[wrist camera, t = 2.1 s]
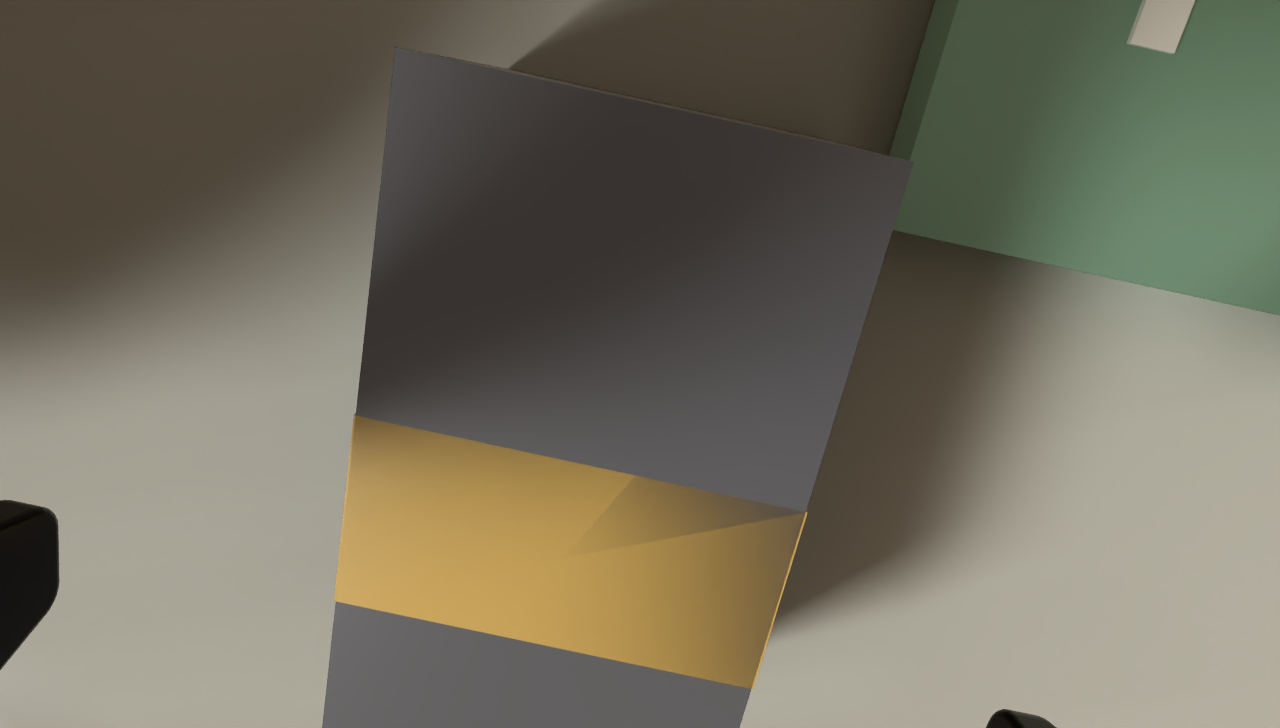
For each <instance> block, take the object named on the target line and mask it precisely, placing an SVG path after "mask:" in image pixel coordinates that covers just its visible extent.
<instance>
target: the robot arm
mask: <svg viewBox="0 0 1280 728" xmlns="http://www.w3.org/2000/svg"><path fill="white" fill-rule="evenodd" d="M58 587H59V541H58V520H57V518H56V516H55V514H54V513H53V512H52V511H51V510H49V509H48V508H45V507H40V506H36V505H31V504H26V503H22V502H17V501H12V500H1V501H0V670H1V669H2V667H3V666H4V665H5V664H6V663H7V661H8V660H9V659H10V658H11V656H12V655H13V654H14V653H15V652H16V650H17V649H18V648H19V647H20V645H21V644H22V643H23V642H24V641H25V639H26V638H27V637H28V636H29V634H30V633H31V632H32V631H33V630H34V628H35V627H36V626H37V625H38V623H39V622H40V621H41V620H42V619H43V617H44V616H45V615H46V614H47V612H48V611H49V609H50V608H51V606H52V604H53V602H54V600H55V598H56V595H57V591H58ZM986 728H1056V727H1055V726H1054V725H1052V724H1051V723H1050V722H1049V721H1047V720H1046V719H1044V718H1042V717H1040V716H1036V715H1031V714H1027V713H1022V712H1017V711H1012V710H1007V709H1002V710H999V711H997V712H995V713H994V714H993V715H992V717H991V718H990V720H989V722H988V724H987V727H986Z"/></svg>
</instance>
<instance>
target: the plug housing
mask: <svg viewBox="0 0 1280 728" xmlns="http://www.w3.org/2000/svg"><path fill="white" fill-rule="evenodd" d="M913 163H914V162H912V161H908V160H904V159H900V158H896V157H892V156H888V155H884V154H880V153H876V152H872V151H869V150H865V149H861V148H857V147H853V146H849V145H845V144H841V143H837V142H833V141H829V140H825V139H821V138H816V137H812V136H807V135H802V134H798V133H793V132H789V131H784V130H780V129H775V128H771V127H766V126H762V125H757V124H753V123H748V122H744V121H739V120H735V119H730V118H726V117H721V116H717V115H712V114H708V113H703V112H699V111H694V110H690V109H685V108H681V107H676V106H672V105H667V104H663V103H658V102H654V101H649V100H645V99H640V98H636V97H631V96H627V95H622V94H618V93H613V92H609V91H604V90H600V89H595V88H591V87H586V86H581V85H577V84H572V83H568V82H563V81H559V80H554V79H550V78H545V77H541V76H536V75H532V74H527V73H523V72H518V71H514V70H509V69H505V68H500V67H494V66H489V65H484V64H479V63H474V62H469V61H464V60H459V59H454V58H449V57H443V56H438V55H433V54H428V53H423V52H418V51H413V50H408V49H403V48H398V47H395V55H394V64H393V74H392V83H391V92H390V102H389V111H388V120H387V130H386V139H385V148H384V157H383V167H382V176H381V185H380V195H379V204H378V213H377V223H376V232H375V241H374V251H373V260H372V269H371V278H370V288H369V297H368V306H367V316H366V325H365V334H364V344H363V353H362V362H361V372H360V381H359V390H358V400H357V409H356V414H355V415H354V419H353V429H352V438H351V448H350V457H349V466H348V476H347V485H346V494H345V504H344V513H343V523H342V532H341V541H340V551H339V560H338V570H337V579H336V588H335V598H334V601H336V604H335V614H334V623H333V632H332V642H331V651H330V660H329V669H328V679H327V688H326V697H325V707H324V716H323V725H322V728H739V727H740V724H741V721H742V717H743V714H744V711H745V708H746V704H747V701H748V698H749V695H750V692H751V689H753V687H754V684H755V681H756V678H757V675H758V671H759V668H760V665H761V662H762V658H763V655H764V652H765V649H766V645H767V642H768V639H769V636H770V633H771V629H772V626H773V623H774V620H775V616H776V613H777V610H778V607H779V603H780V600H781V597H782V594H783V591H784V587H785V584H786V581H787V578H788V574H789V571H790V568H791V565H792V561H793V558H794V555H795V552H796V549H797V545H798V542H799V539H800V536H801V532H802V529H803V526H804V523H805V519H806V516H807V513H808V512H807V507H808V504H809V500H810V497H811V494H812V491H813V487H814V484H815V481H816V478H817V474H818V471H819V468H820V465H821V462H822V458H823V455H824V452H825V449H826V445H827V442H828V439H829V436H830V432H831V429H832V426H833V423H834V419H835V416H836V413H837V410H838V406H839V403H840V400H841V397H842V393H843V390H844V387H845V384H846V381H847V377H848V374H849V371H850V368H851V364H852V361H853V358H854V355H855V351H856V348H857V345H858V342H859V338H860V335H861V332H862V329H863V325H864V322H865V319H866V316H867V312H868V309H869V306H870V303H871V300H872V296H873V293H874V290H875V287H876V283H877V280H878V277H879V274H880V270H881V267H882V264H883V261H884V257H885V254H886V251H887V248H888V244H889V241H890V238H891V235H892V231H893V228H894V225H895V222H896V219H897V215H898V212H899V209H900V206H901V202H902V199H903V196H904V193H905V189H906V186H907V183H908V180H909V176H910V173H911V170H912V167H913Z"/></svg>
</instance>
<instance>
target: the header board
mask: <svg viewBox="0 0 1280 728" xmlns="http://www.w3.org/2000/svg"><path fill="white" fill-rule="evenodd" d="M889 156H892V157H896V158H900V159H904V160H908V161H912V162H914V163H913V167H912V170H911V173H910V176H909V180H908V183H907V186H906V189H905V193H904V196H903V199H902V202H901V206H900V209H899V212H898V215H897V219H896V222H895V225H894V228H893V230H895V231H899V232H904V233H908V234H913V235H917V236H922V237H926V238H931V239H936V240H940V241H945V242H949V243H954V244H958V245H963V246H967V247H972V248H976V249H981V250H985V251H990V252H995V253H999V254H1004V255H1008V256H1013V257H1017V258H1022V259H1026V260H1031V261H1035V262H1040V263H1045V264H1049V265H1054V266H1058V267H1063V268H1067V269H1072V270H1076V271H1081V272H1085V273H1090V274H1094V275H1099V276H1104V277H1108V278H1113V279H1117V280H1122V281H1126V282H1131V283H1135V284H1140V285H1144V286H1149V287H1153V288H1158V289H1163V290H1167V291H1172V292H1176V293H1181V294H1185V295H1190V296H1194V297H1199V298H1203V299H1208V300H1212V301H1217V302H1222V303H1226V304H1231V305H1235V306H1240V307H1244V308H1249V309H1253V310H1258V311H1262V312H1267V313H1272V314H1276V315H1280V0H935V3H934V6H933V10H932V13H931V16H930V20H929V23H928V26H927V30H926V33H925V36H924V40H923V43H922V46H921V50H920V53H919V56H918V60H917V63H916V66H915V70H914V73H913V77H912V80H911V83H910V87H909V90H908V93H907V97H906V100H905V103H904V107H903V110H902V113H901V117H900V120H899V123H898V127H897V130H896V133H895V137H894V140H893V144H892V147H891V150H890V154H889Z"/></svg>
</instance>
